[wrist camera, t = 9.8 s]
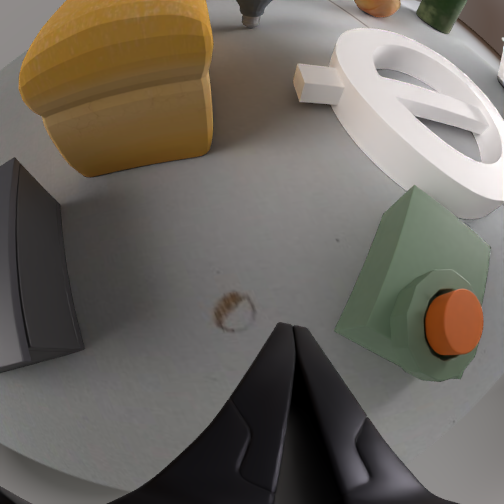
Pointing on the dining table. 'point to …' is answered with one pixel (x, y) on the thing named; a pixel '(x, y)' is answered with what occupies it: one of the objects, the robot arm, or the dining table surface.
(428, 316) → the button
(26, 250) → the charcoal lidded box
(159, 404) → the dining table surface
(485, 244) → the control block
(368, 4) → the orange-brown rounded lump
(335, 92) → the white circle with bar
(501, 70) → the tub
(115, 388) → the dining table surface
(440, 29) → the green bottle
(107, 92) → the bread
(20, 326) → the fryer lid
